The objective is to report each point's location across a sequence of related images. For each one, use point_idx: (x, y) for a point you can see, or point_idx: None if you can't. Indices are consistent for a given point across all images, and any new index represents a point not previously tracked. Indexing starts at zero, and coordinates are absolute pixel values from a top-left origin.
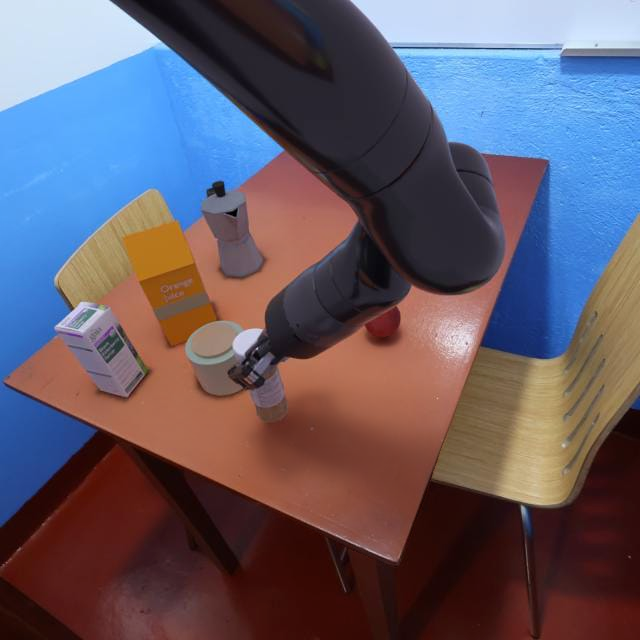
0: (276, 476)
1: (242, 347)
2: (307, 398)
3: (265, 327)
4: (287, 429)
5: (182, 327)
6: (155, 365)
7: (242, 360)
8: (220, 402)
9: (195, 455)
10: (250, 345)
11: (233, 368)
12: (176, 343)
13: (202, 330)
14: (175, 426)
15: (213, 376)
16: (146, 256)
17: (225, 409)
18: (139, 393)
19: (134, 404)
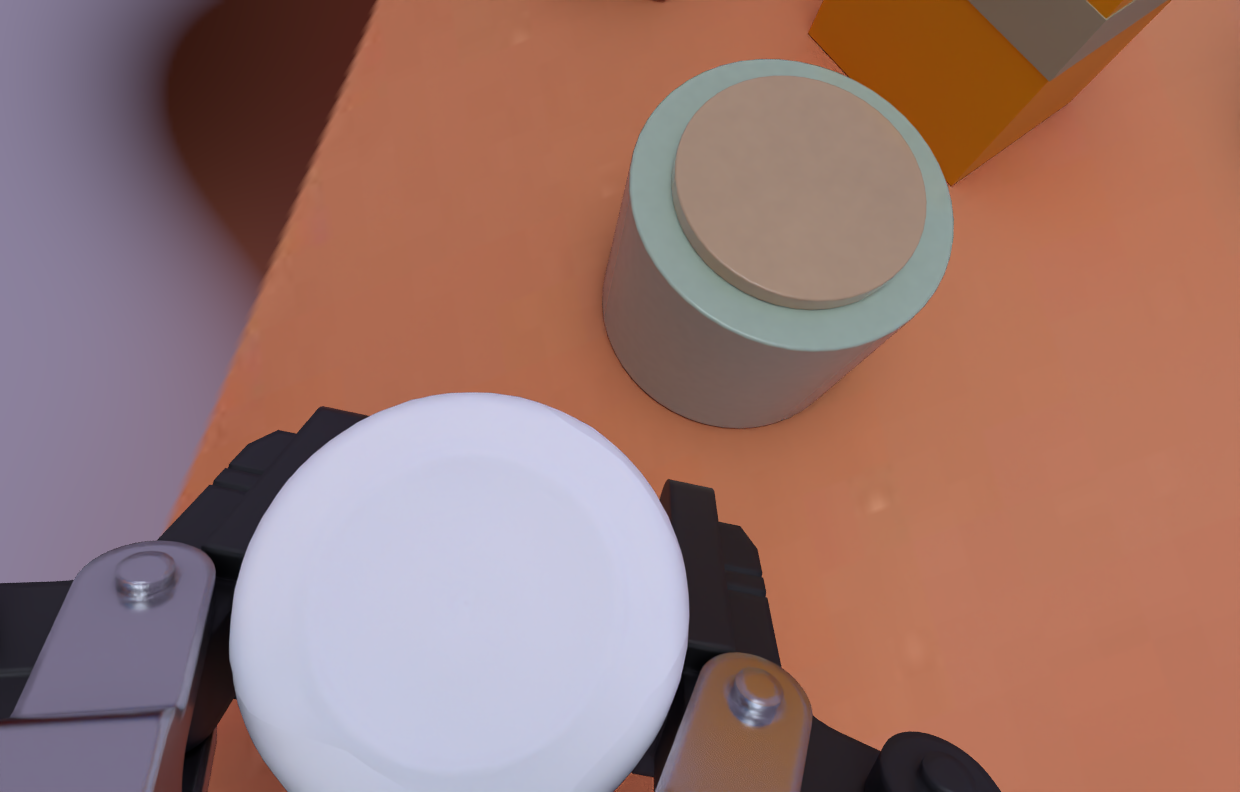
0: (219, 730)
1: (344, 543)
2: None
3: (731, 685)
4: None
5: (889, 26)
6: (701, 13)
7: (59, 654)
8: (571, 332)
9: (298, 329)
10: (115, 780)
11: (269, 475)
12: (825, 46)
13: (843, 104)
14: (427, 198)
15: (621, 264)
16: None
17: (539, 367)
18: (559, 9)
19: (506, 12)
